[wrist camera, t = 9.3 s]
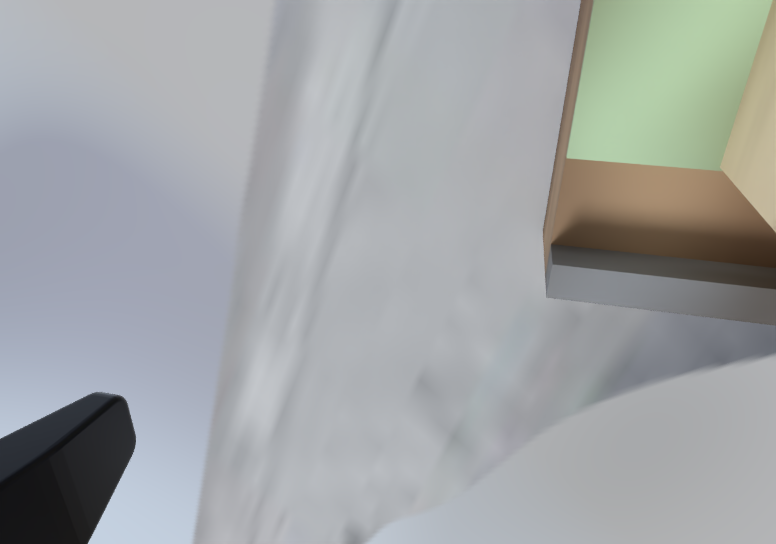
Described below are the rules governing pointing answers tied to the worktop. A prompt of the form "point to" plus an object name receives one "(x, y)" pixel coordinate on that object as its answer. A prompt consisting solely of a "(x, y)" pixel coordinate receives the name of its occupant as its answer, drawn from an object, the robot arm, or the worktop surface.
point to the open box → (658, 164)
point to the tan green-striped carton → (757, 130)
